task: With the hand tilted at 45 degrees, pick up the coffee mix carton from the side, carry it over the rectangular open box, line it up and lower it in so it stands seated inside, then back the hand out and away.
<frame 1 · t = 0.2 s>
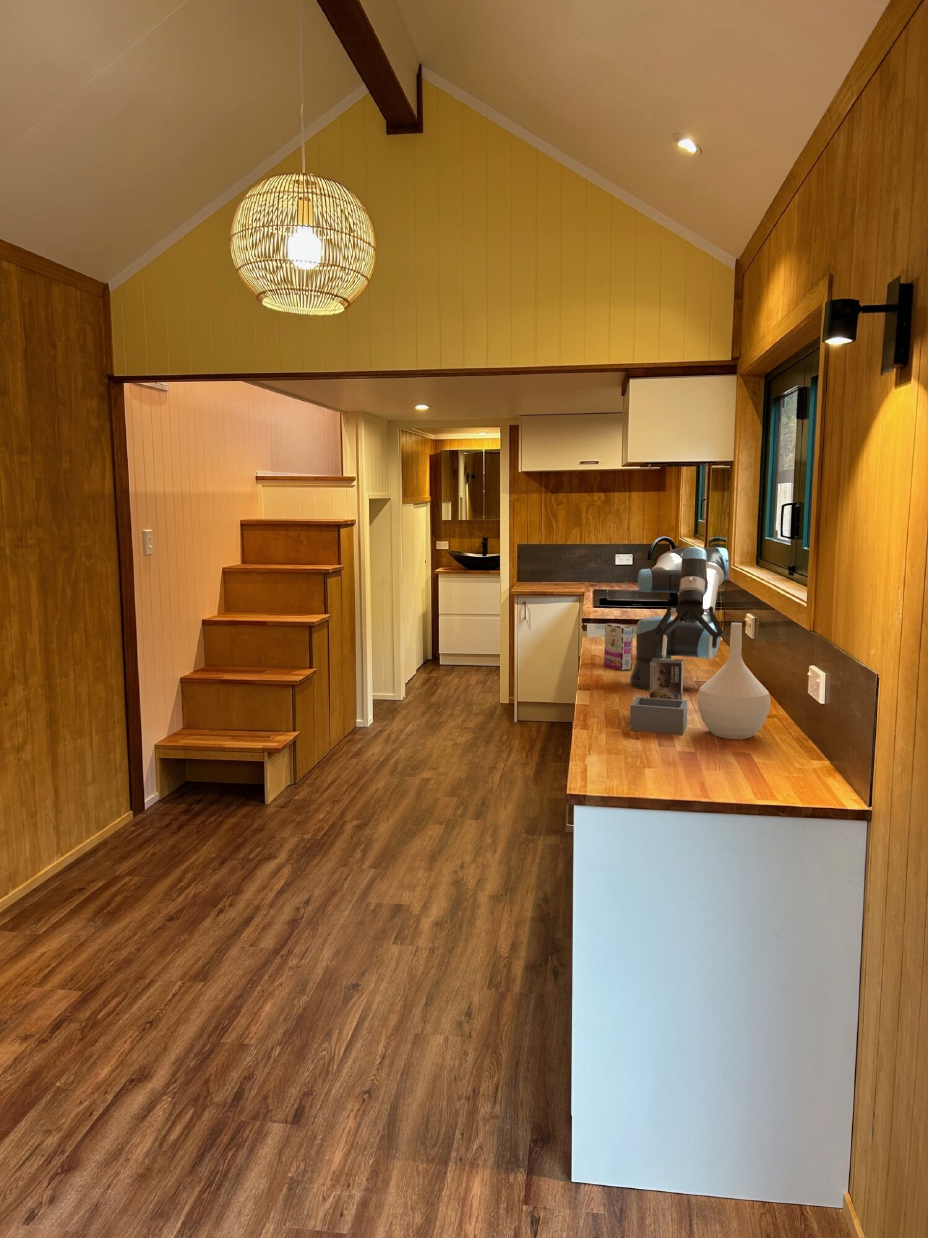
hand: (686, 657, 256), 15 cm above the countertop, fingers open, 13 cm apart
vase: (732, 735, 227), on the countertop
rectangular open box: (658, 727, 234), on the countertop
candy bar box: (617, 668, 320), on the countertop
coffee box: (665, 715, 249), on the countertop
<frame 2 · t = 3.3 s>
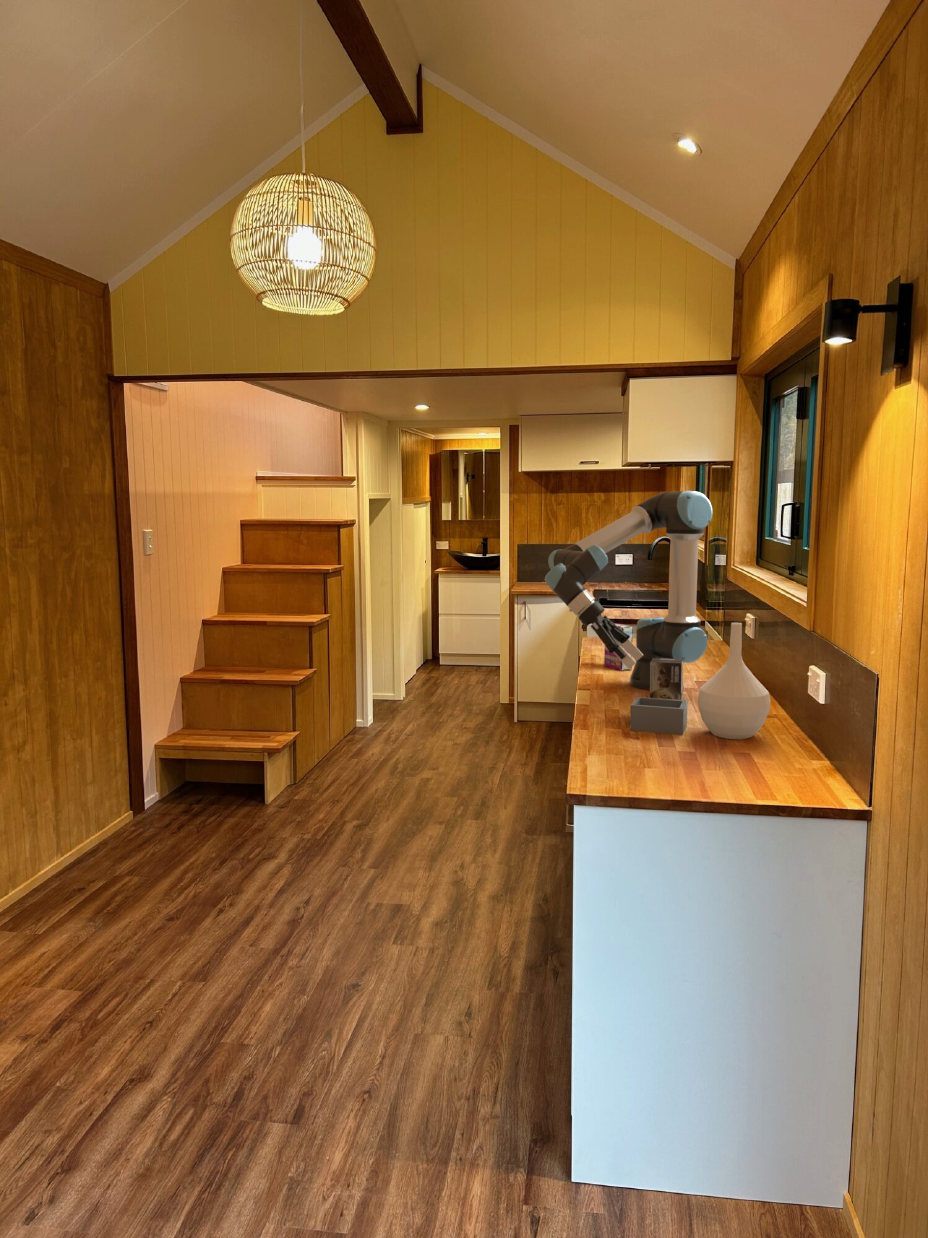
hand: (636, 662, 249), 15 cm above the countertop, fingers open, 13 cm apart
nothing on the countertop moved.
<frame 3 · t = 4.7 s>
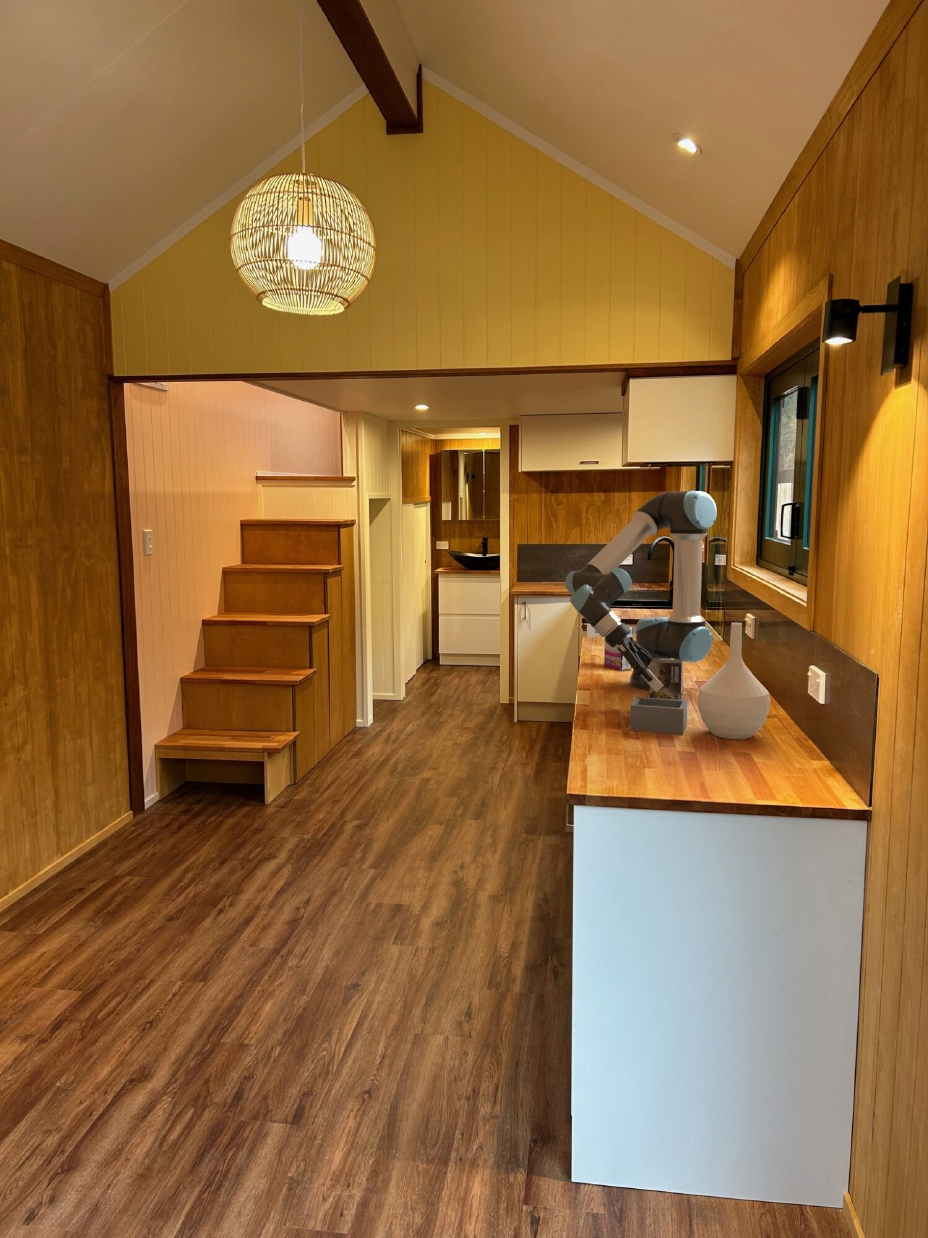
hand: (663, 684, 247), 9 cm above the countertop, fingers open, 13 cm apart
nothing on the countertop moved.
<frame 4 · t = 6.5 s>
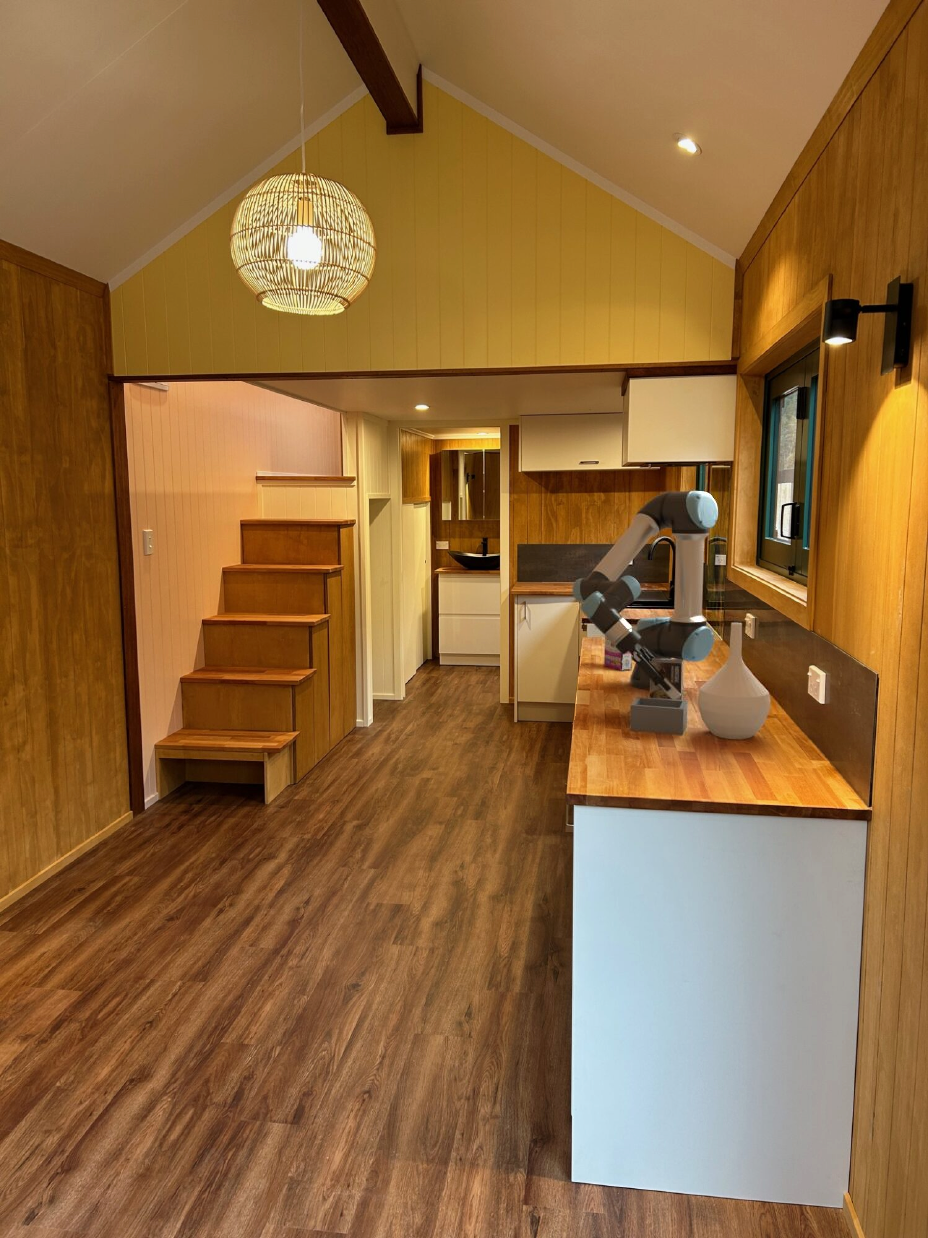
hand: (679, 695, 247), 6 cm above the countertop, fingers closed on coffee box, 6 cm apart
coffee box: (665, 715, 249), on the countertop, touching gripper
everything else where it was.
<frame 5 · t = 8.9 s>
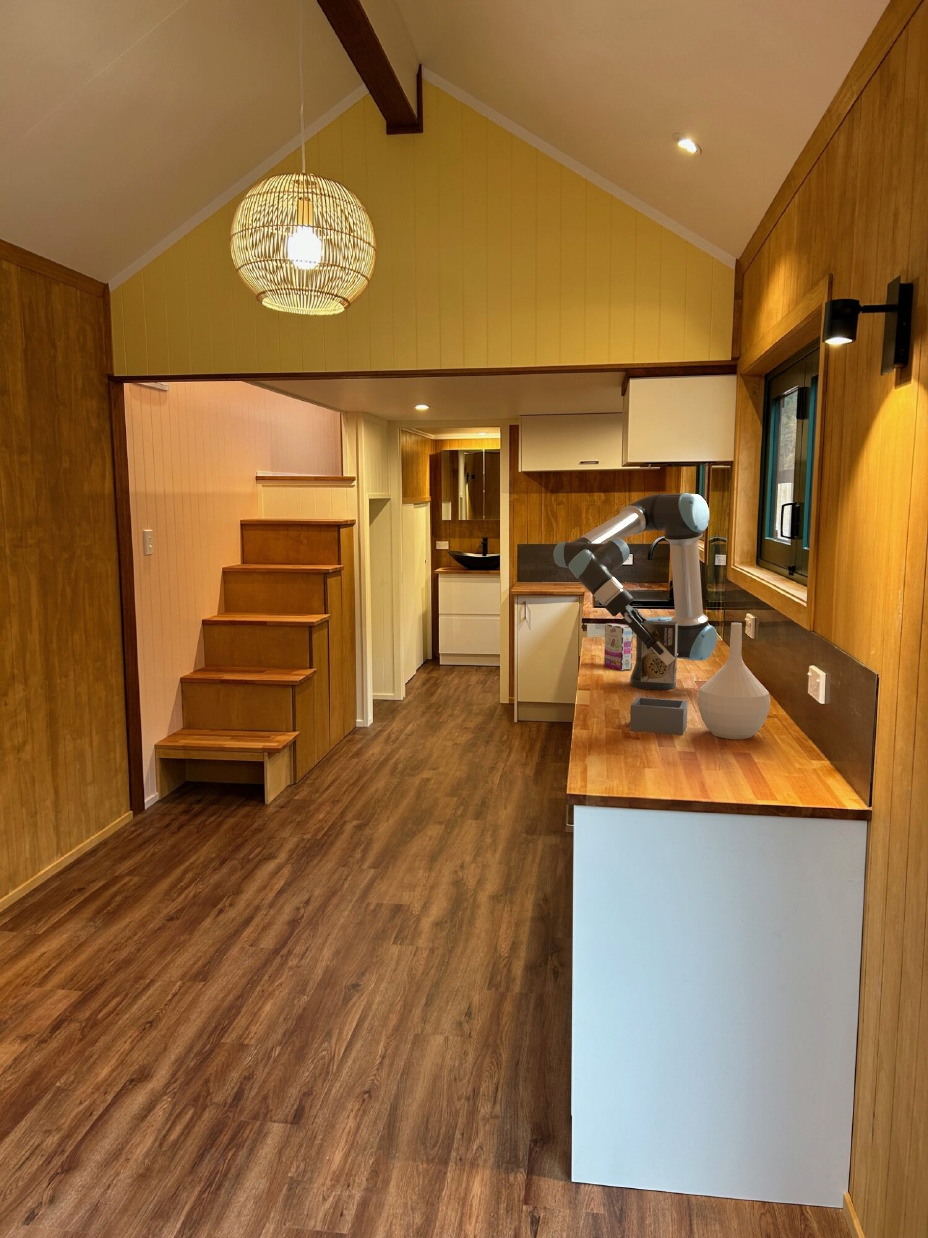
hand: (672, 660, 231), 19 cm above the countertop, fingers closed on coffee box, 6 cm apart
coffee box: (658, 681, 233), point 13 cm above the countertop, touching gripper
everything else where it was.
when the fingers open (9 cm above the countertop, at t = 11.6 s): coffee box drops 2 cm, resting on rectangular open box.
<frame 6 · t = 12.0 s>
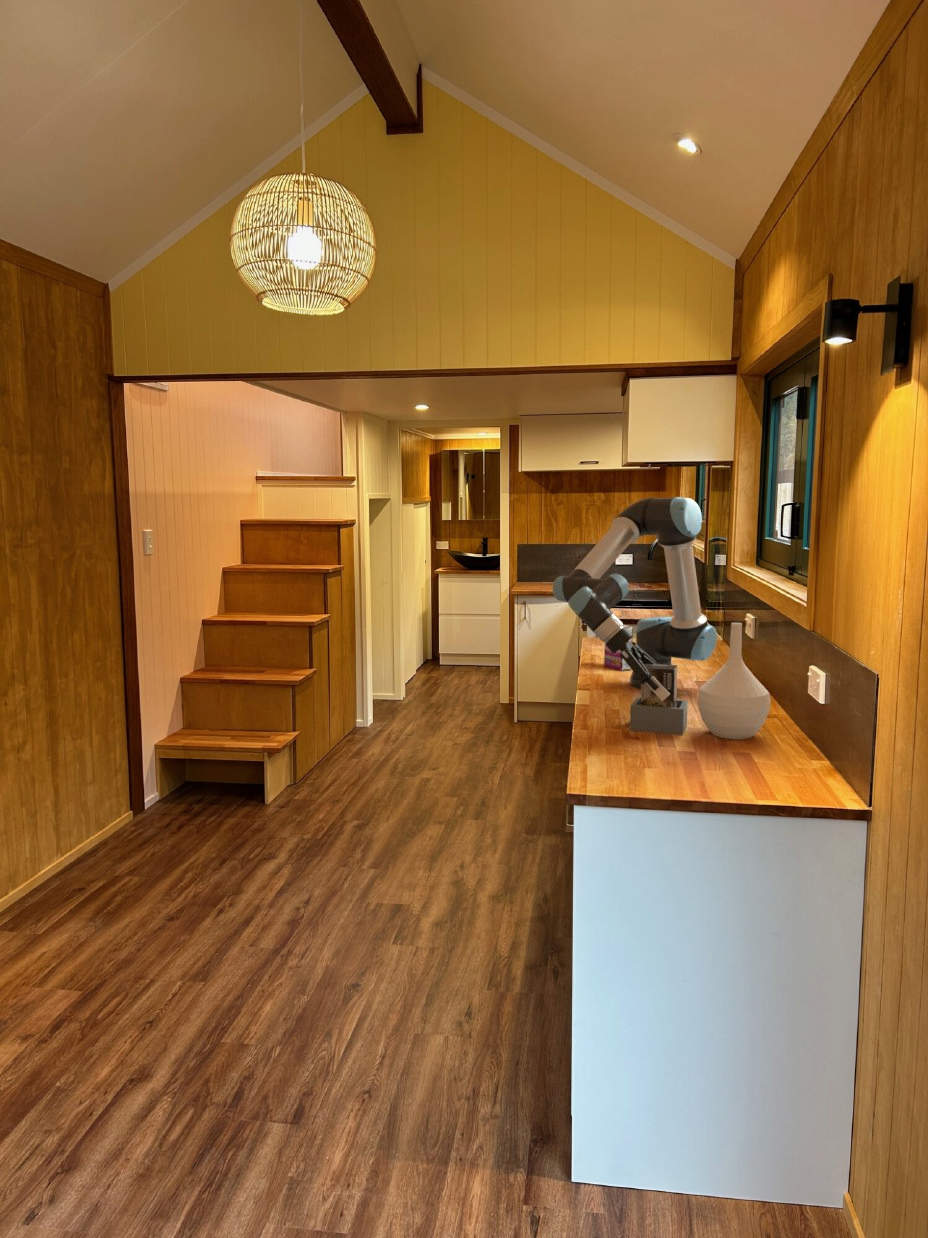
hand: (669, 692, 232), 10 cm above the countertop, fingers open, 12 cm apart
coffee box: (658, 724, 234), point 1 cm above the countertop, touching rectangular open box
everything else where it was.
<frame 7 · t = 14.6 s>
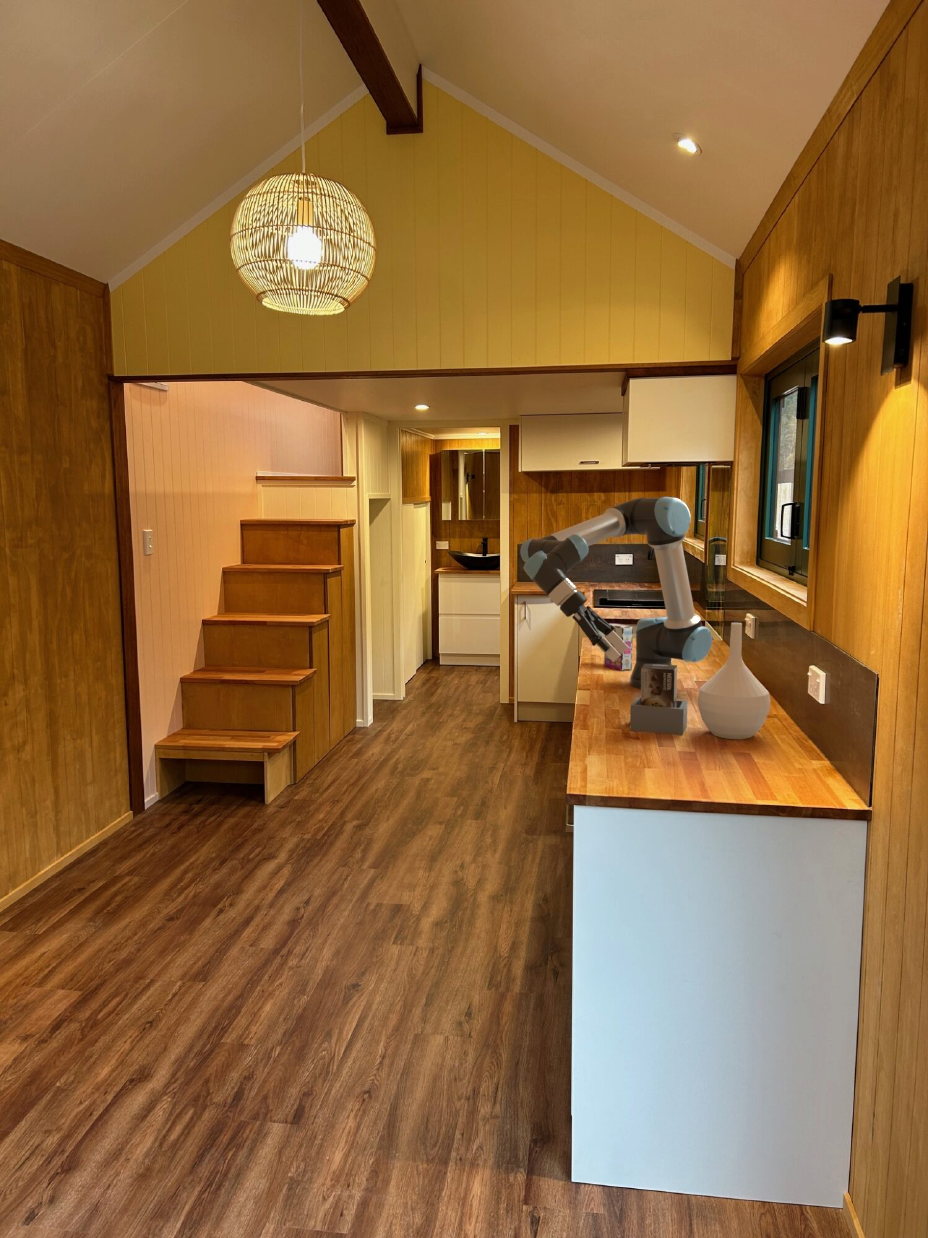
hand: (621, 654, 235), 20 cm above the countertop, fingers open, 13 cm apart
nothing on the countertop moved.
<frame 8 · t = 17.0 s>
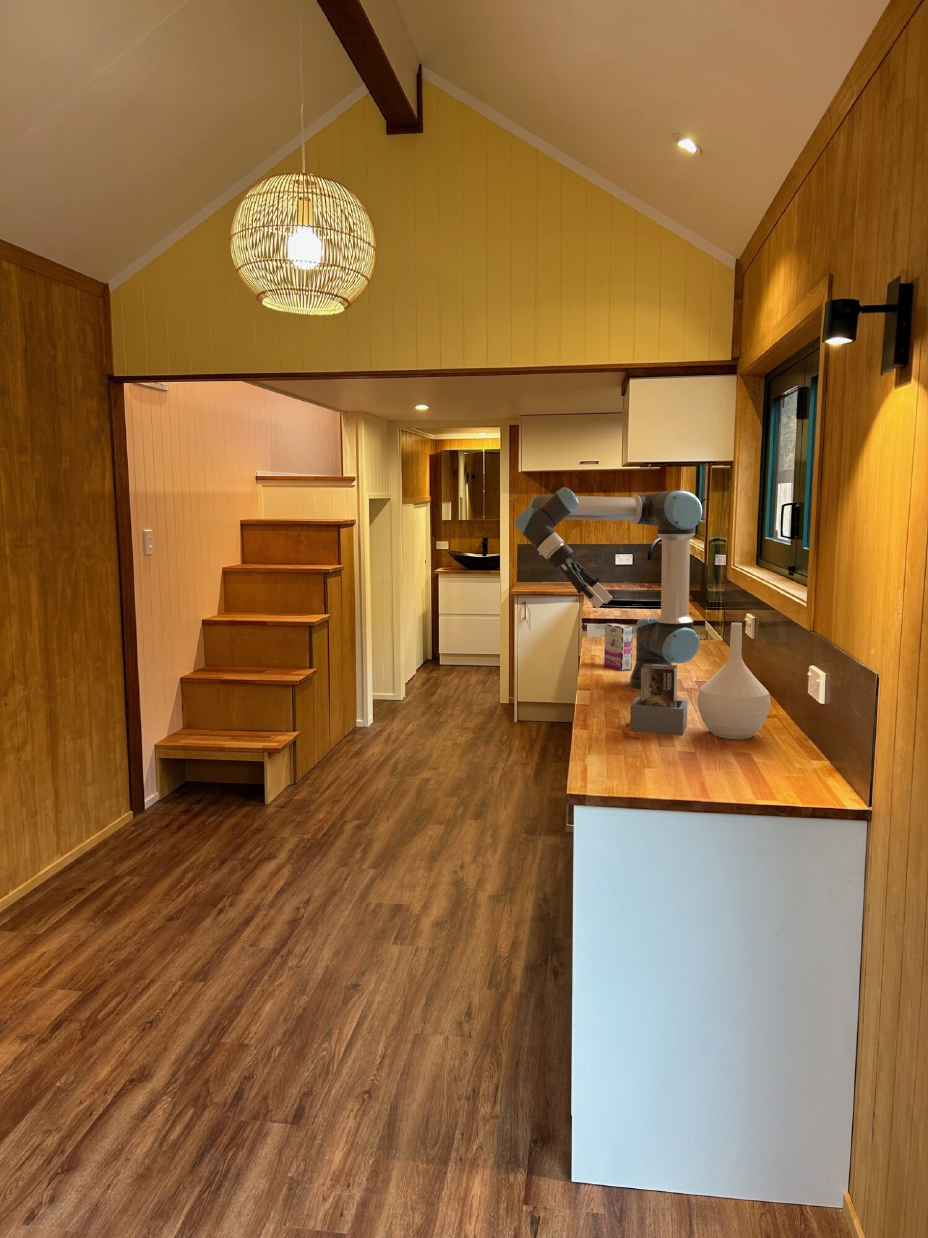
hand: (605, 603, 253), 32 cm above the countertop, fingers open, 13 cm apart
nothing on the countertop moved.
at the end: coffee box 0.4 cm off-centre on the rectangular open box, point 0.8 cm above the rectangular open box's base; coffee box tilted 0°; the gripper is holding nothing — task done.
